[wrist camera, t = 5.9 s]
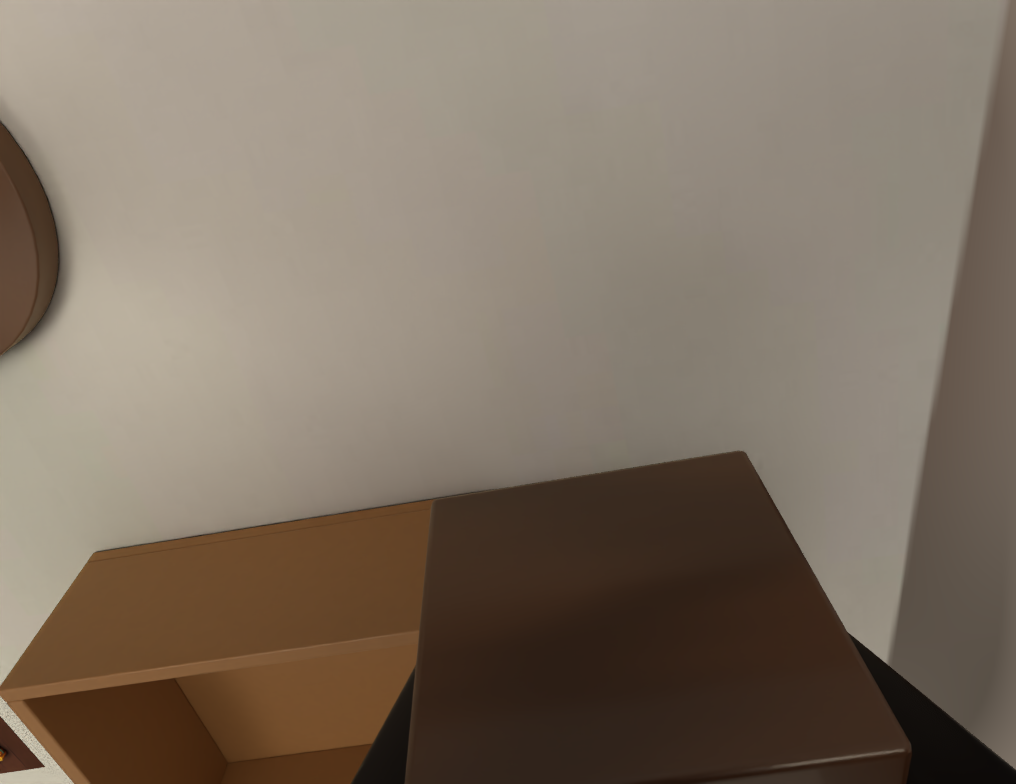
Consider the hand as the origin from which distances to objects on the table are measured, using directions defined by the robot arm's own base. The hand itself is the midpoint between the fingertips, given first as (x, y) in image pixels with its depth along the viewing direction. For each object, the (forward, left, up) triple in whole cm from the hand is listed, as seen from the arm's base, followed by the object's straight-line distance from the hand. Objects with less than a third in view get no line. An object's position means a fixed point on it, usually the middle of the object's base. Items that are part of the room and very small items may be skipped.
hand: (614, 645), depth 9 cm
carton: (+10, +13, -12) cm, 20 cm away
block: (0, 0, -1) cm, 1 cm away
